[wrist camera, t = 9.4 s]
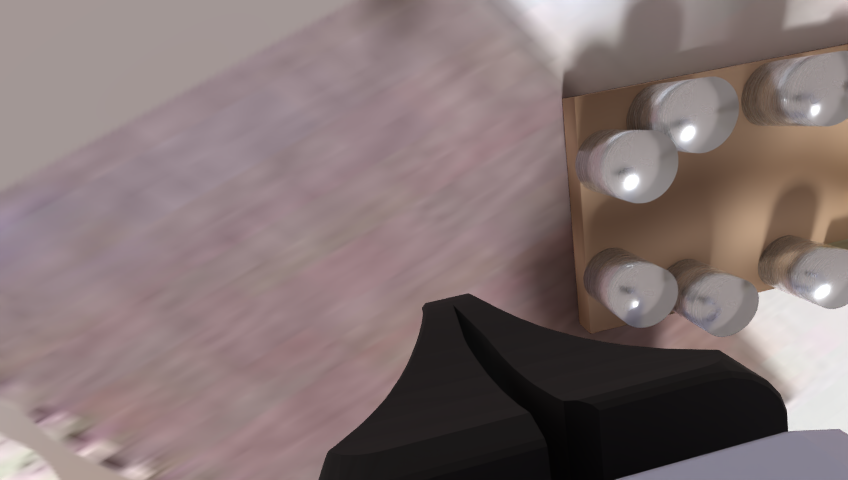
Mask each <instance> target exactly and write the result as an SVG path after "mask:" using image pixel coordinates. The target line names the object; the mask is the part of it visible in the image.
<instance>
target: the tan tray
mask: <svg viewBox="0 0 848 480" xmlns="http://www.w3.org/2000/svg"><path fill="white" fill-rule="evenodd" d="M838 51H848V44H844V45H839V46H834V47H828V48H823V49H818V50H813V51H808V52H802V53H797V54H792V55H787V56H782V57H777V58H771V59H766V60H761V61H756V62H751V63H745V64H740V65H735V66H730V67H725V68H719V69H714V70H709V71H704V72H699V73H693V74H688V75H683V76H678V77H673V78H667V79H662V80H657V81H652V82H647V83H642V84H636V85H631V86H626V87H621V88H616V89H610V90H605V91H600V92H595V93H590V94H584V95H579V96H574V97H569V98H564V99H562V102H563V115H564V128H565V141H566V154H567V167H568V180H569V193H570V206H571V219H572V232H573V245H574V258H575V271H576V284H577V297H578V310H579V323H580V324H581V325H582V326H583V327H584V328H585V329H586V330H587V331H588V332H589V333H590V334H592V333H596V332H600V331H604V330H608V329H612V328H616V327H620V326H624V325H628V324H627V323H625V322H624V321H623V320H621V319H620V318H619V317H617V316H616V315H615V314H613V313H612V312H611V311H610V310H608V309H607V308H606V307H604V306H603V305H602V304H600V303H599V302H598V301H596V300H595V299H594V298H592V297H591V296H590V295H589V294H588V293H587V291H586V289H585V287H584V282H583V276H584V271H585V269H586V266H587V264H588V263H589V261H590V260H591V259H592V258H593V257H594V256H595V255H596V254H598V253H599V252H601V251H603V250H605V249H608V248H621V249H624V250H626V251H628V252H630V253H633V254H635V255H637V256H639V257H641V258H643V259H645V260H647V261H649V262H651V263H653V264H655V265H658V266H660V267H662V268H664V269H666V270H667V269H668V268H669V267H670V266H671V265H673V264H674V263H676V262H678V261H680V260H683V259H695V260H698V261H700V262H703V263H705V264H708V265H710V266H712V267H715V268H717V269H720V270H722V271H725V272H727V273H730V274H732V275H734V276H737V277H739V278H742V279H744V280H747V281H749V282H750V283H752V284H753V285H754V286H755V288H756V290H757V292H762V291H766V290H770V289H774V287H772V286H769V285H767V284H765V283H764V282H763V281H762V280H761V279H760V277H759V274H758V263H759V259H760V257H761V255H762V253H763V251H764V250H765V248H766V247H767V246H768V245H769V244H770V243H771V242H773V241H774V240H776V239H777V238H779V237H782V236H786V235H793V236H797V237H801V238H805V239H808V240H812V241H816V242H820V243H824V244H828V245H831V246H835V247H839V248H843V249H847V250H848V118H847V119H846V120H844V121H843V122H841V123H839V124H836V125H833V126H758V125H755V124H752V123H751V122H750V121H748V120H747V118H746V117H745V115H744V113H743V111H742V106H741V97H742V91H743V88H744V86H745V83H746V81H747V80H748V78H749V77H750V75H751V74H752V73H753V72H754V71H755V70H756V69H757V68H758V67H760V66H761V65H763V64H765V63H768V62H771V61H778V60H785V59H791V58H798V57H805V56H811V55H818V54H824V53H831V52H838ZM703 77H719V78H722V79H724V80H726V81H727V82H729V83H730V84H731V85H732V86H733V88H734V89H735V91H736V94H737V96H738V101H739V114H738V119H737V122H736V125H735V127H734V129H733V131H732V133H731V134H730V136H729V137H728V138H727V139H726V140H725V141H724V142H723V143H722V144H721V145H720V146H719V147H717V148H715V149H714V150H711V151H709V152H706V153H688V152H678V169H677V173H676V176H675V178H674V180H673V182H672V184H671V185H670V187H669V188H668V189H667V190H666V191H665V192H664V193H663V194H662V195H661V196H660V197H658V198H656V199H655V200H652V201H650V202H647V203H632V202H628V201H625V200H622V199H618V198H615V197H611V196H608V195H605V194H601V193H598V192H594V191H591V190H589V189H587V188H586V187H584V186H583V185H582V183H581V182H580V181H579V179H578V177H577V174H576V169H575V161H576V156H577V153H578V150H579V148H580V146H581V145H582V143H583V142H584V141H585V140H586V139H587V138H588V137H589V136H590V135H592V134H593V133H595V132H597V131H600V130H605V129H619V130H627V123H626V122H627V113H628V109H629V107H630V105H631V103H632V101H633V99H634V98H635V97H636V95H637V94H638V93H639V92H640V91H642V90H643V89H644V88H646V87H648V86H650V85H653V84H659V83H666V82H673V81H681V80H688V79H696V78H703ZM673 313H675V312H674V311H672V310H671V312H670V313H669V314H673ZM669 314H668V315H669Z"/></svg>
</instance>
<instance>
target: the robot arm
mask: <svg viewBox="0 0 848 480" xmlns="http://www.w3.org/2000/svg"><path fill="white" fill-rule="evenodd" d="M422 310H423V319H422V324H421V328H420V332H419V336H418V339H417V342H416V345H415V347H414V350H413V352H412V355H411V357H410V359H409V362H408V364H407V366H406V368H405V369H404V371H403V373H402V375H401V377H400V378H399V380H398V381H397V383H396V384H395V386H394V387H393V389H392V390H391V392H390V393H389V395H388V396H387V397H386V399H385V400H384V401H383V402H382V403H381V404H380V405H379V407H378V408H377V409H376V410H375V411H374V412H373V413H372V414H371V415H370V416H369V417H368V418H367V419H366V420H365V421H364V422H363V423H362V424H361V425H360V426H359V427H357V428H356V429H355V430H354V431H353V432H351V433H350V434H349V435H348V436H347V437H345V438H344V439H343V440H342V441H341V442H339V443H338V444H337V445H336V446H334V447H333V448H332V449H330V450H329V451H328V453H327V455H326V458H325V461H324V464H323V467H322V470H321V474H320V477H319V480H848V434H846V433H845V432H843V431H842V430H840V429H830V430H806V431H789V432H788V422H787V410H786V407H785V405H784V402H783V400H782V397H781V395H780V393H779V392H778V391H777V390H776V389H775V388H774V387H773V386H772V385H771V384H770V383H769V382H768V381H767V380H765V379H764V378H762V377H761V376H759V375H757V374H756V373H754V372H753V371H751V370H750V369H748V368H746V367H745V366H743V365H742V364H740V363H739V362H737V361H735V360H734V359H732V358H731V357H729V356H728V355H726V354H724V353H723V352H721V351H720V350H696V349H660V348H649V347H638V346H628V345H620V344H613V343H607V342H601V341H596V340H590V339H585V338H581V337H576V336H572V335H568V334H565V333H561V332H558V331H554V330H550V329H547V328H544V327H541V326H538V325H536V324H533V323H531V322H528V321H525V320H523V319H520V318H518V317H516V316H513V315H511V314H509V313H507V312H505V311H503V310H501V309H498V308H496V307H494V306H492V305H491V304H489V303H487V302H485V301H483V300H481V299H479V298H477V297H475V296H473V295H471V294H463V295H459V296H455V297H450V298H446V299H442V300H438V301H433V302H429V303H425V305H424V306H423V307H422Z"/></svg>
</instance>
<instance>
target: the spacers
mask: <svg viewBox="0 0 848 480" xmlns="http://www.w3.org/2000/svg"><path fill="white" fill-rule="evenodd" d="M741 106H742V111H743V113H744V115H745V117H746V118H747V120H748V121H750V122H751V123H752V124H755V125H758V126H833V125H836V124H839V123H841V122H843V121H844V120H846V119H847V118H848V51H838V52H831V53H824V54H818V55H811V56H805V57H798V58H791V59H785V60H778V61H771V62H768V63H765V64H763V65H761V66H760V67H758V68H757V69H756V70H755V71H754V72H753V73H752V74H751V75H750V77H749V78H748V80H747V81H746V83H745V86H744V88H743V91H742V97H741ZM738 114H739V101H738V96H737V94H736V91H735V89H734V88H733V86H732V85H731V84H730V83H729V82H727V81H726V80H724V79H722V78H719V77H703V78H696V79H688V80H681V81H673V82H666V83H659V84H653V85H650V86H648V87H646V88H644V89H643V90H642V91H640V92H639V93H638V94H637V95H636V97H635V98H634V99H633V101H632V103H631V105H630V107H629V109H628V113H627V122H626V123H627V130H619V129H605V130H600V131H597V132H595V133H593V134H592V135H590V136H589V137H588V138H587V139H586V140H585V141H584V142H583V143H582V145H581V146H580V148H579V150H578V153H577V156H576V161H575V169H576V174H577V177H578V179H579V181H580V182H581V183H582V185H583V186H584V187H586V188H587V189H589V190H591V191H594V192H598V193H601V194H605V195H608V196H611V197H615V198H618V199H622V200H625V201H628V202H632V203H647V202H650V201H652V200H655V199H656V198H658V197H660V196H661V195H662V194H663V193H664V192H665V191H666V190H667V189H668V188H669V187H670V185H671V184H672V182H673V180H674V178H675V176H676V173H677V169H678V152H688V153H706V152H709V151H711V150H714V149H715V148H717V147H719V146H720V145H721V144H722V143H723V142H724V141H725V140H726V139H727V138H728V137H729V136H730V134H731V133H732V131H733V129H734V127H735V125H736V122H737V119H738ZM758 274H759V277H760V279H761V280H762V281H763V282H764V283H765V284H767V285H769V286H772V287H774V288H777V289H779V290H782V291H784V292H787V293H789V294H792V295H794V296H797V297H799V298H802V299H804V300H807V301H809V302H812V303H814V304H817V305H819V306H822V307H824V308H828V309H836V308H840V307H842V306H845V305H847V304H848V250H847V249H843V248H839V247H835V246H831V245H828V244H824V243H820V242H816V241H812V240H808V239H805V238H801V237H797V236H793V235H786V236H782V237H779V238H777V239H776V240H774V241H773V242H771V243H770V244H769V245H768V246H767V247H766V248H765V250H764V251H763V253H762V255H761V257H760V259H759V263H758ZM583 282H584V287H585V289H586V291H587V293H588V294H589V295H590V296H591V297H592V298H594V299H595V300H596V301H598V302H599V303H600V304H602V305H603V306H604V307H606V308H607V309H608V310H610V311H611V312H612V313H613V314H615V315H616V316H617V317H619V318H620V319H621V320H623V321H624V322H625V323H627V324H628V325H630V326H633V327H637V328H645V327H650V326H653V325H655V324H657V323H659V322H660V321H662V320H663V319H664V318H665V317H666V316H667V315H668V314H669V313H670V312H671V310H672V311H674V312H675V313H677V314H679V315H680V316H682V317H684V318H685V319H687V320H689V321H690V322H692V323H694V324H695V325H697V326H699V327H700V328H702V329H704V330H705V331H707V332H708V333H710V334H712V335H714V336H718V337H725V336H730V335H733V334H735V333H737V332H739V331H741V330H742V329H743V328H744V327H746V326H747V325H748V324H749V322H750V321H751V320H752V318H753V317H754V315H755V313H756V311H757V307H758V302H759V297H758V292H757V290H756V288H755V286H754V285H753V284H752V283H750V282H749V281H747V280H744V279H742V278H739V277H737V276H734V275H732V274H730V273H727V272H725V271H722V270H720V269H717V268H715V267H712V266H710V265H708V264H705V263H703V262H700V261H698V260H695V259H683V260H680V261H678V262H676V263H674V264H673V265H671V266H670V267H669V268H668V269H667V270H666V269H664V268H662V267H660V266H658V265H655V264H653V263H651V262H649V261H647V260H645V259H643V258H641V257H639V256H637V255H635V254H633V253H630V252H628V251H626V250H624V249H621V248H608V249H605V250H603V251H601V252H599V253H598V254H596V255H595V256H594V257H593V258H592V259H591V260H590V261H589V263H588V264H587V266H586V269H585V271H584V276H583Z"/></svg>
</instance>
